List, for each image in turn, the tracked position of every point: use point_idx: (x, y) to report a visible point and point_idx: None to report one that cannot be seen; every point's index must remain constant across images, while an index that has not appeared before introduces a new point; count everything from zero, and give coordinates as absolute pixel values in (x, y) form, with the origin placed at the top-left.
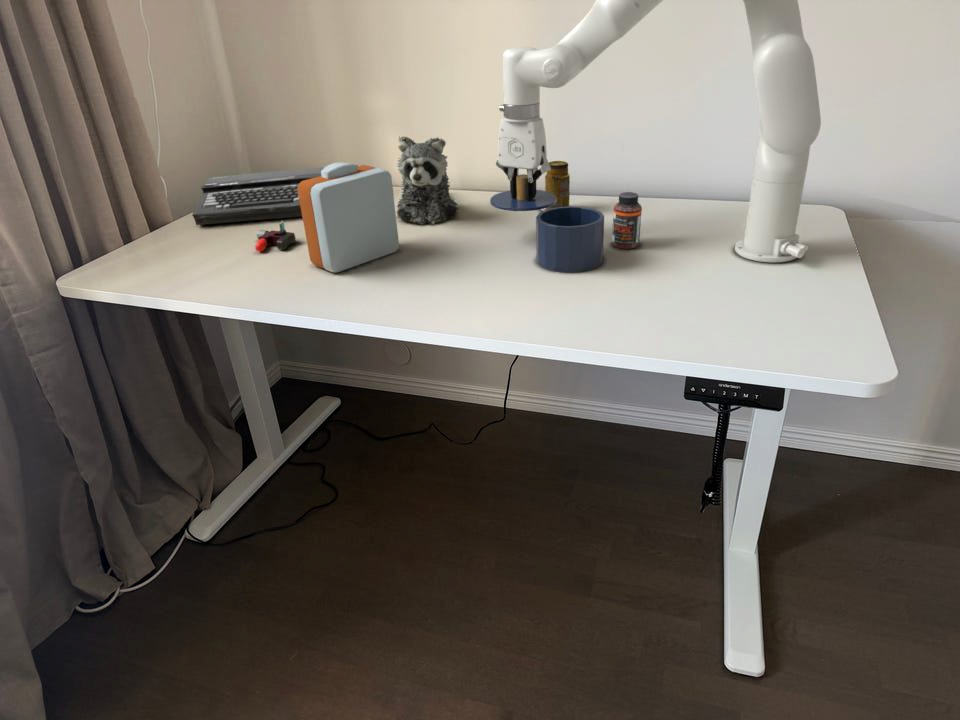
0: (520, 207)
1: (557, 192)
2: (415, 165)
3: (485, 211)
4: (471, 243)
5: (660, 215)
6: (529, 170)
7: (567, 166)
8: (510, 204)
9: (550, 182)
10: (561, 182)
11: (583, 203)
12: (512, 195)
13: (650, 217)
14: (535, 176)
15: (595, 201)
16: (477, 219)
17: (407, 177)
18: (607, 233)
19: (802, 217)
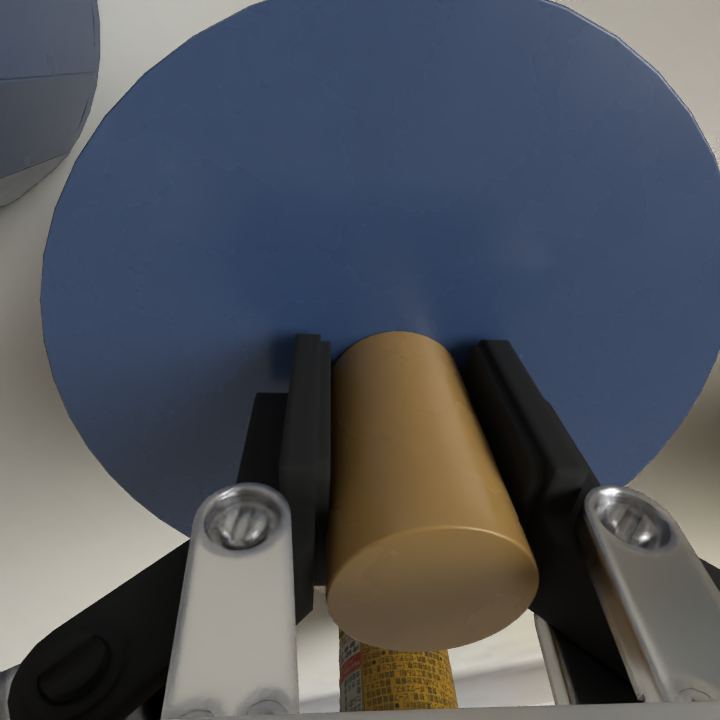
0: (256, 68)
1: (372, 649)
2: None
3: (683, 494)
4: (674, 28)
5: (10, 643)
6: (221, 703)
7: None
8: (443, 152)
9: (415, 698)
10: (359, 709)
11: (328, 648)
12: (500, 353)
13: (24, 623)
14: (148, 601)
15: (299, 668)
16: (705, 407)
17: None
18: (32, 454)
19: None
